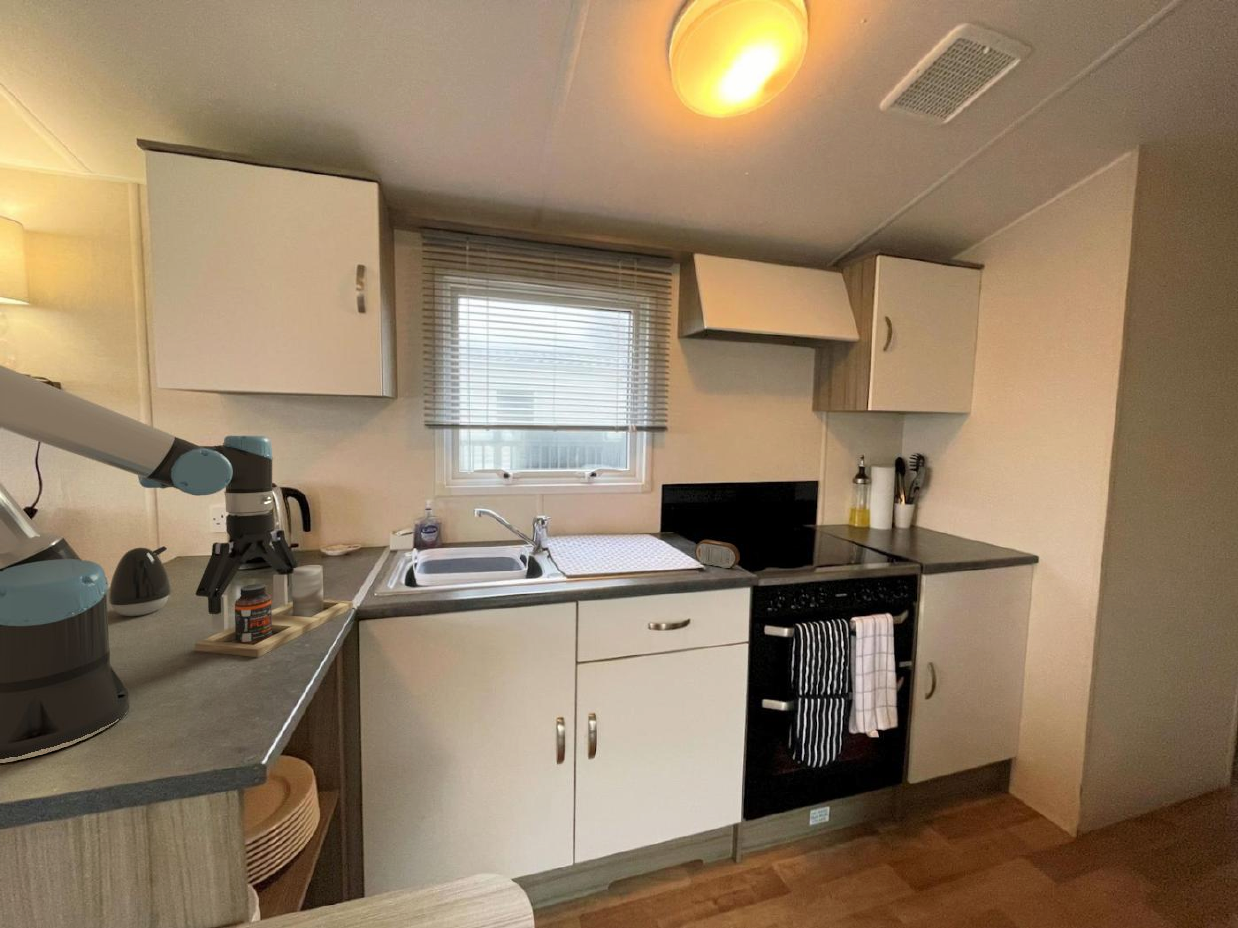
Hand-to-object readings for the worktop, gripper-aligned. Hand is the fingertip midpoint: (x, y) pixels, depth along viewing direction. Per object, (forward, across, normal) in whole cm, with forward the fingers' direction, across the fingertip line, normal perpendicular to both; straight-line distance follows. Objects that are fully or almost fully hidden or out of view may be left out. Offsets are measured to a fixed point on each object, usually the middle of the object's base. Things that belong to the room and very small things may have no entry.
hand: (252, 615), depth 97 cm
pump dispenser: (+6, +8, +38) cm, 39 cm away
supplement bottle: (+6, 0, 0) cm, 6 cm away
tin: (+5, +77, -97) cm, 124 cm away
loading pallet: (+5, +7, 0) cm, 9 cm away
